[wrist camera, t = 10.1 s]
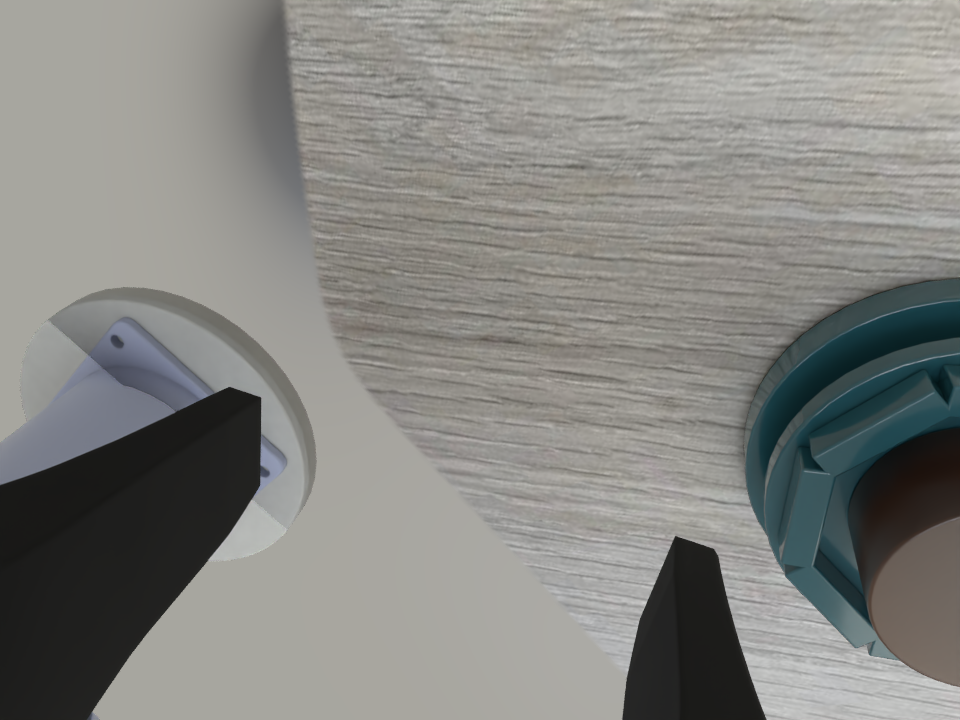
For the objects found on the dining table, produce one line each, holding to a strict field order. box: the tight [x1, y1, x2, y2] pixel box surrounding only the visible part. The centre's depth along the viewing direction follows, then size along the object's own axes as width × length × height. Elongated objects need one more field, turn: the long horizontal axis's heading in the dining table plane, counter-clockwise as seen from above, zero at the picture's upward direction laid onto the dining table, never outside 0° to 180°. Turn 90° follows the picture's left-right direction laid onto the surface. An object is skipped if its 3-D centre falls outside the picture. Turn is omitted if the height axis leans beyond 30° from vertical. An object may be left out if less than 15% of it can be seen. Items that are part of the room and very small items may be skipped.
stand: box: [744, 279, 960, 661], centre depth 20 cm, size 10×10×4 cm
